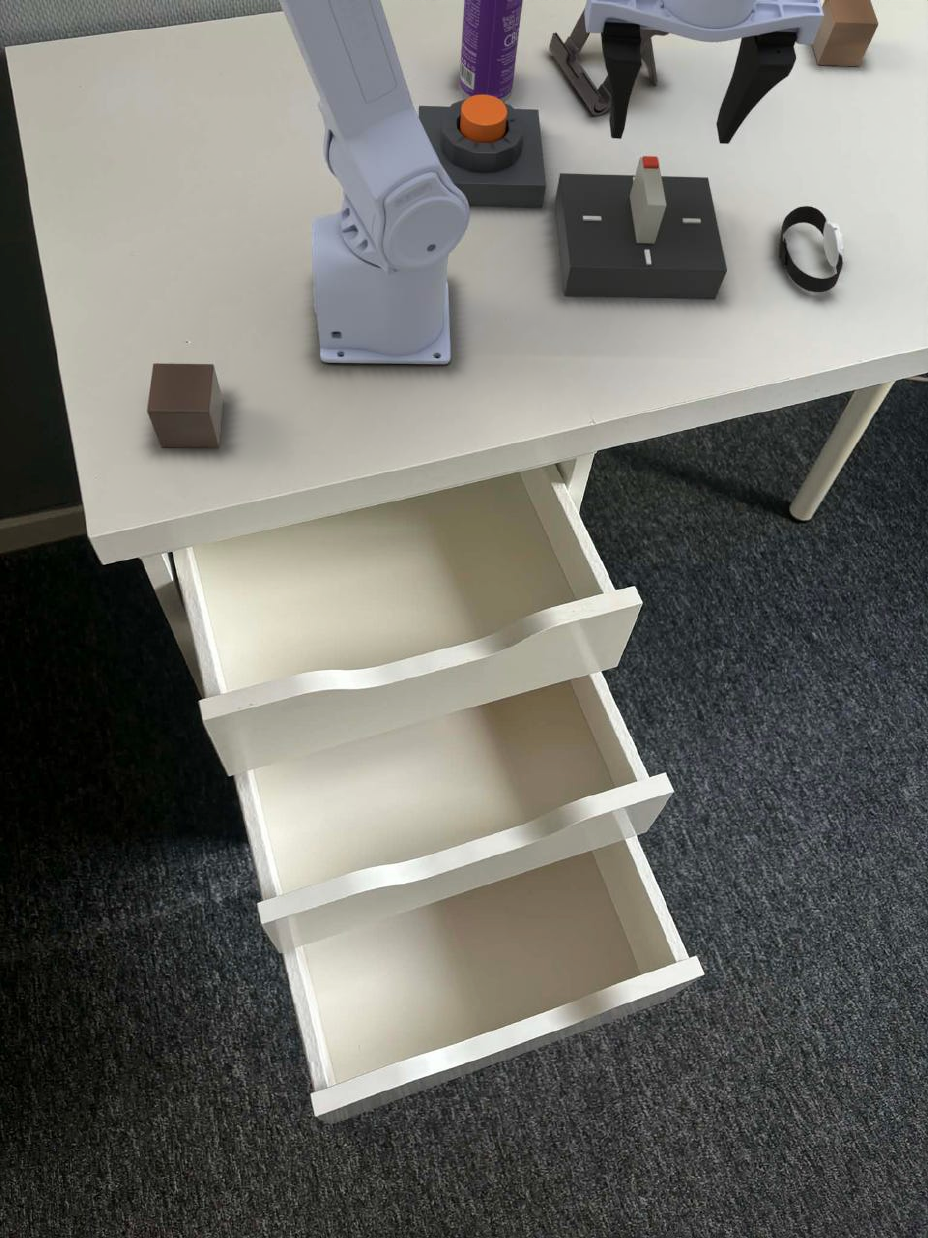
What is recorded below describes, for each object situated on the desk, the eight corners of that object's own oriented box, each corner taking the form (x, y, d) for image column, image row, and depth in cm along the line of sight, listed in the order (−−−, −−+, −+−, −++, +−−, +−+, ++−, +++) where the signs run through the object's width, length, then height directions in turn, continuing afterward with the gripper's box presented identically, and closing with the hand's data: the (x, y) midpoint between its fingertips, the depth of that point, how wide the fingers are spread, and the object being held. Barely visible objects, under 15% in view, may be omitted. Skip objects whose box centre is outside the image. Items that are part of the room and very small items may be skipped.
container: (507, 110, 82) (528, -79, 69) (454, 100, 82) (465, -91, 69) (516, 76, 84) (539, -115, 71) (464, 66, 84) (477, -126, 71)
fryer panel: (563, 296, 73) (570, 265, 70) (554, 203, 78) (560, 170, 75) (715, 299, 74) (728, 268, 71) (697, 207, 78) (708, 175, 76)
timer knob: (654, 243, 72) (667, 202, 69) (636, 243, 72) (648, 201, 69) (646, 196, 74) (659, 154, 71) (629, 196, 74) (640, 153, 71)
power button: (460, 143, 75) (462, 123, 73) (459, 113, 76) (460, 92, 75) (506, 145, 75) (508, 125, 73) (503, 114, 77) (505, 94, 75)
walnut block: (160, 447, 65) (146, 411, 62) (166, 400, 67) (152, 362, 63) (219, 448, 65) (209, 411, 62) (223, 401, 67) (213, 363, 64)
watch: (846, 296, 75) (866, 261, 72) (790, 300, 75) (808, 265, 71) (817, 226, 78) (835, 189, 75) (763, 229, 78) (779, 192, 75)
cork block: (817, 64, 87) (835, 21, 84) (809, 37, 89) (826, -7, 86) (859, 66, 88) (879, 23, 84) (850, 38, 89) (869, -5, 86)
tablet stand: (546, 55, 86) (561, -43, 78) (623, 38, 87) (645, -59, 80) (589, 118, 82) (608, 22, 75) (668, 99, 84) (694, 4, 76)
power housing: (419, 204, 77) (420, 162, 73) (418, 128, 80) (419, 84, 77) (542, 207, 77) (549, 165, 74) (535, 132, 81) (541, 88, 78)
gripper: (840, -112, 57) (762, 98, 69) (599, -128, 56) (564, 88, 68) (862, -40, 54) (776, 166, 66) (608, -55, 53) (569, 156, 65)
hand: (669, 131), depth 67 cm, fingers open, 7 cm apart
